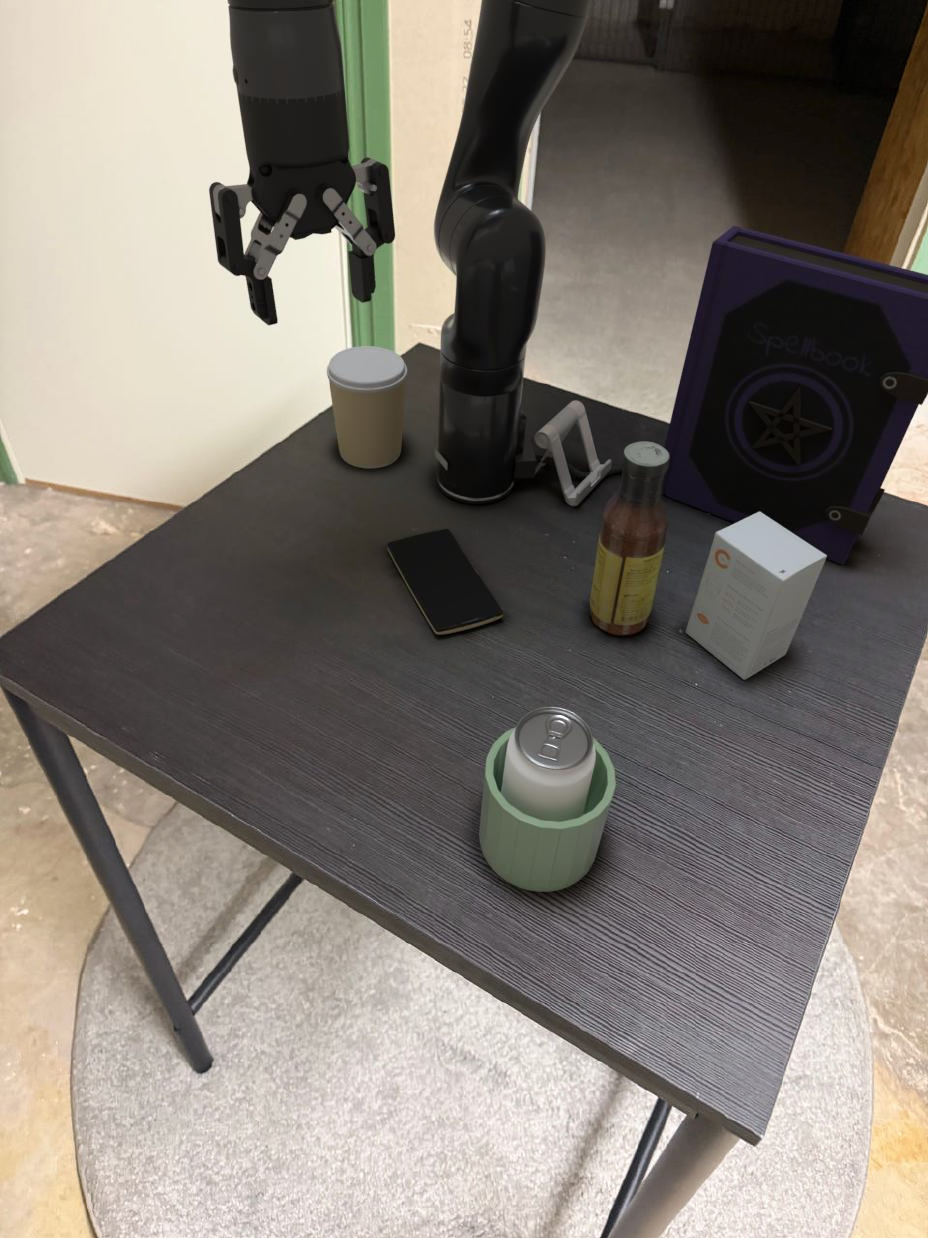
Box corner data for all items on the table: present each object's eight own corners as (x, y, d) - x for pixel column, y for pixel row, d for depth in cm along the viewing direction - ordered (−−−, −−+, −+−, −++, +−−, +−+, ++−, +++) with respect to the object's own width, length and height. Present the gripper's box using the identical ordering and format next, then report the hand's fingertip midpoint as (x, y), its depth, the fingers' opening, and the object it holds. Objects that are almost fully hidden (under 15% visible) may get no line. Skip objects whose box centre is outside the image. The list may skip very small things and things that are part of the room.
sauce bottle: (655, 608, 90) (698, 445, 77) (637, 647, 86) (680, 482, 72) (595, 589, 92) (627, 426, 78) (575, 625, 88) (605, 461, 74)
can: (585, 809, 71) (608, 716, 63) (566, 876, 67) (587, 785, 59) (510, 785, 73) (523, 691, 64) (486, 850, 68) (496, 758, 60)
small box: (786, 655, 86) (830, 555, 77) (743, 682, 83) (784, 581, 74) (725, 608, 91) (760, 508, 82) (682, 632, 88) (713, 531, 79)
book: (652, 494, 105) (711, 241, 84) (673, 470, 109) (734, 223, 88) (845, 569, 96) (965, 309, 75) (861, 540, 100) (979, 285, 79)
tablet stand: (577, 509, 102) (587, 448, 96) (520, 486, 105) (526, 425, 99) (610, 475, 108) (621, 415, 102) (554, 453, 110) (562, 395, 105)
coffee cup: (412, 434, 112) (412, 347, 104) (401, 475, 106) (400, 386, 97) (341, 428, 113) (335, 341, 104) (325, 468, 106) (318, 379, 98)
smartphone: (448, 526, 97) (505, 613, 87) (447, 534, 98) (504, 621, 88) (385, 541, 94) (437, 632, 85) (385, 549, 95) (437, 640, 86)
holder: (551, 770, 75) (563, 703, 69) (621, 856, 69) (642, 791, 63) (456, 819, 71) (461, 752, 65) (523, 914, 65) (535, 850, 59)
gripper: (214, 104, 56) (255, 346, 66) (405, 79, 61) (414, 306, 72) (173, 84, 60) (217, 314, 71) (354, 64, 66) (369, 278, 77)
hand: (316, 310), depth 72 cm, fingers open, 8 cm apart
